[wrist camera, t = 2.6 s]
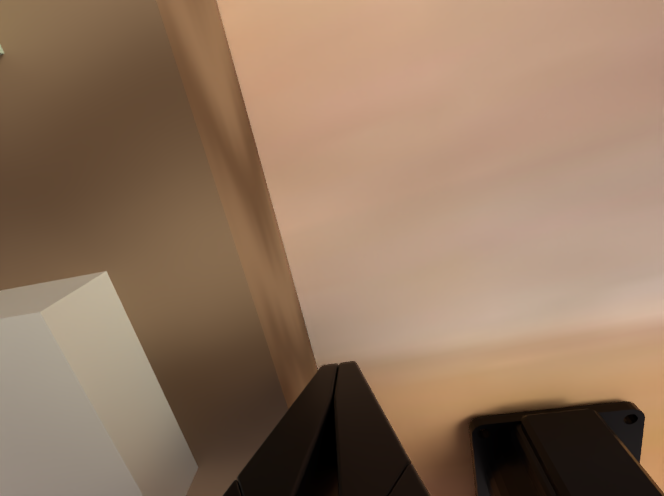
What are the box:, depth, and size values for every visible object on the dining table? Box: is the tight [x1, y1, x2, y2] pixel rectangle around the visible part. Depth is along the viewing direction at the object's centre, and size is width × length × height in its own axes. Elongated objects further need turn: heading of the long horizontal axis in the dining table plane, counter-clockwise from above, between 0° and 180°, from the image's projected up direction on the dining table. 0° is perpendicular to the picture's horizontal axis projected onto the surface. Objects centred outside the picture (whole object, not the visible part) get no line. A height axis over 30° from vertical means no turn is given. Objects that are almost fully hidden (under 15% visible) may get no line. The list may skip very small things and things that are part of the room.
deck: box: [0, 0, 318, 496], centre depth 10 cm, size 22×10×4 cm, turn 12°
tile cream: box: [0, 271, 198, 496], centre depth 10 cm, size 7×6×2 cm
